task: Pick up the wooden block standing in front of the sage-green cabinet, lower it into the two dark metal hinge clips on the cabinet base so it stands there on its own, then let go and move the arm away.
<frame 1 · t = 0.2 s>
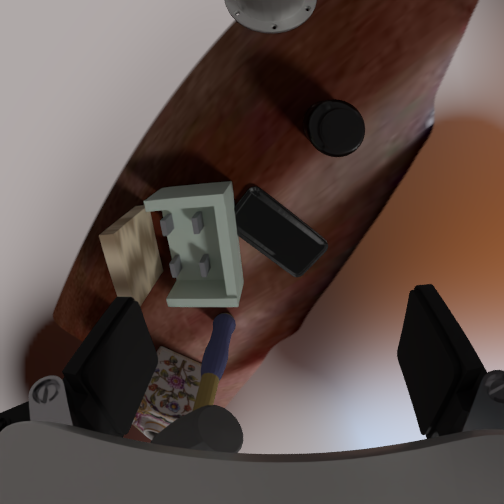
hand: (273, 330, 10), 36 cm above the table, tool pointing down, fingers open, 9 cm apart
wooden block: (149, 239, 51), on the table
decorative jar: (177, 369, 64), on the table
rubber mallet: (226, 317, 56), on the table
cabinet: (203, 236, 49), on the table
supplement bottle: (326, 124, 40), on the table
phone: (277, 231, 49), on the table
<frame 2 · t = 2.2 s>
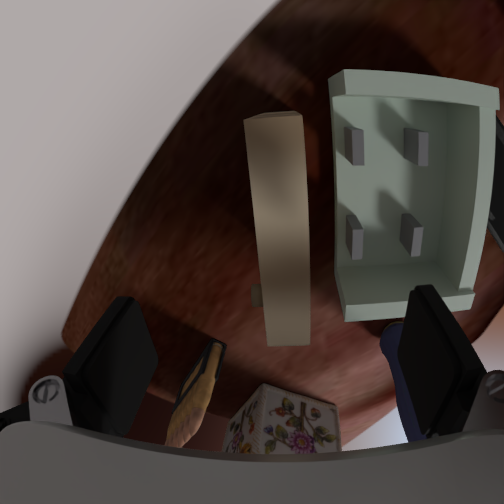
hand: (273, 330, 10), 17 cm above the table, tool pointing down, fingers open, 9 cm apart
wooden block: (285, 184, 25), on the table
decorative jar: (280, 413, 39), on the table
rubber mallet: (393, 328, 31), on the table
cabinet: (397, 181, 24), on the table
phone: (496, 183, 23), on the table
ammunition clip: (202, 365, 36), on the table
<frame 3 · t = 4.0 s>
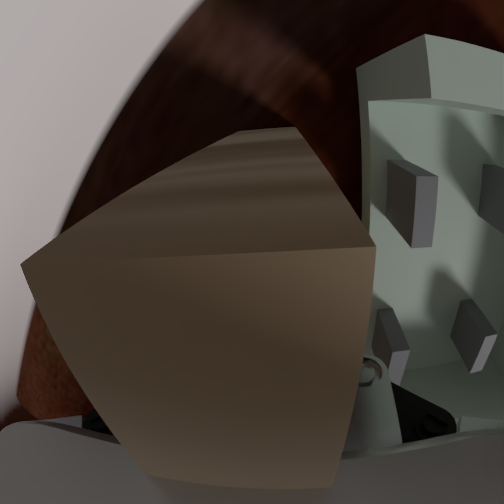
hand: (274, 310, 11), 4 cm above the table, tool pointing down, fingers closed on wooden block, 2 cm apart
wooden block: (277, 257, 15), on the table, touching gripper
cabinet: (457, 247, 14), on the table
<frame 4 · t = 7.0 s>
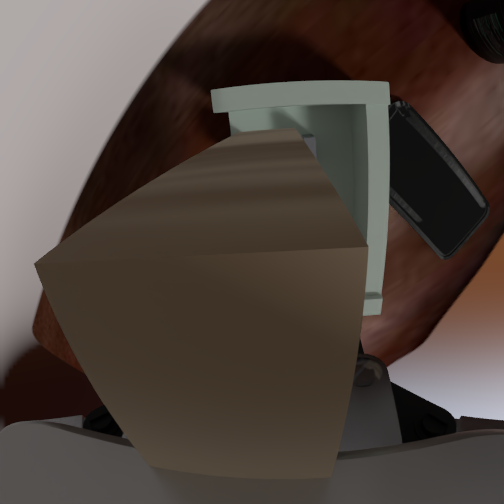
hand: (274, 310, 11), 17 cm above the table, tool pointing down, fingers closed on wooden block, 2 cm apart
wooden block: (277, 256, 15), point 13 cm above the table, touching gripper
cabinet: (304, 187, 26), on the table
supplement bottle: (484, 32, 17), on the table
phone: (424, 183, 25), on the table
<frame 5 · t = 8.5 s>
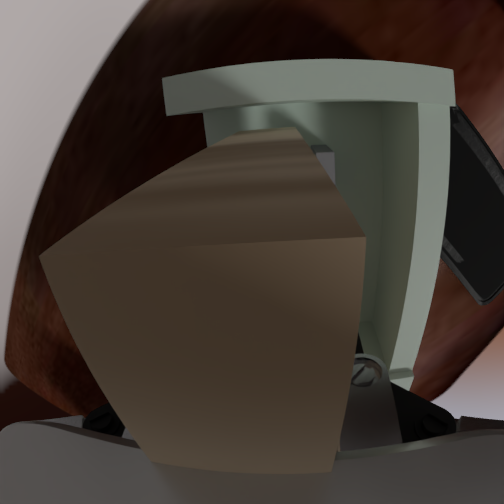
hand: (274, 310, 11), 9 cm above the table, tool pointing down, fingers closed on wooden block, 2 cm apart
wooden block: (277, 255, 15), point 5 cm above the table, touching gripper
cabinet: (312, 218, 19), on the table
phone: (467, 211, 18), on the table
when the fingers open (7 cm above the table, at t = 9.8 s): wooden block stays where it is, resting on cabinet.
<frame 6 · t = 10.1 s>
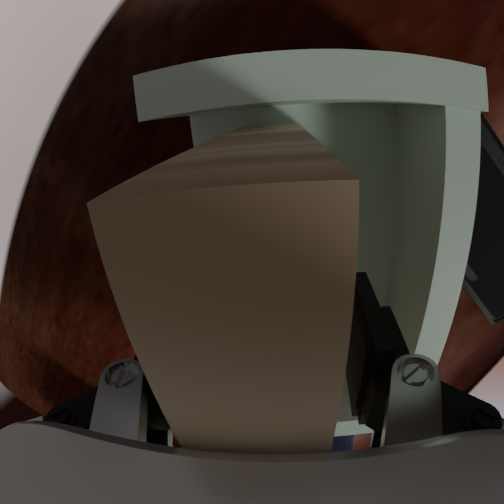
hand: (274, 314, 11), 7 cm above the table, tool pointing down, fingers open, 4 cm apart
wooden block: (279, 246, 16), point 1 cm above the table, touching cabinet
rubber mallet: (329, 410, 24), on the table
cabinet: (315, 235, 17), on the table
phone: (483, 225, 16), on the table
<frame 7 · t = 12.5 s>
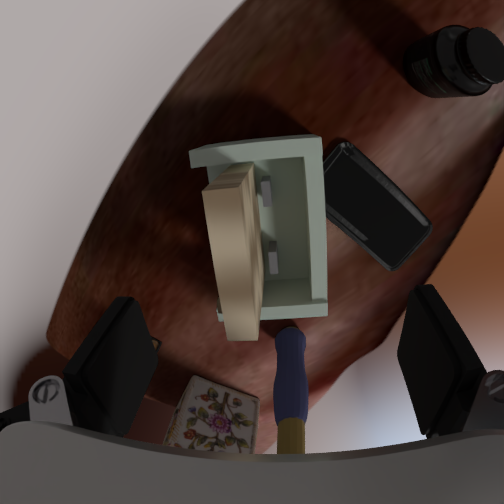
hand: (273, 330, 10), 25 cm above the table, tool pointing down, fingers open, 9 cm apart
wooden block: (248, 220, 33), point 1 cm above the table, touching cabinet
decorative jar: (215, 403, 48), on the table
rubber mallet: (290, 332, 40), on the table
cabinet: (267, 216, 34), on the table
supplement bottle: (427, 69, 26), on the table
phone: (369, 208, 33), on the table
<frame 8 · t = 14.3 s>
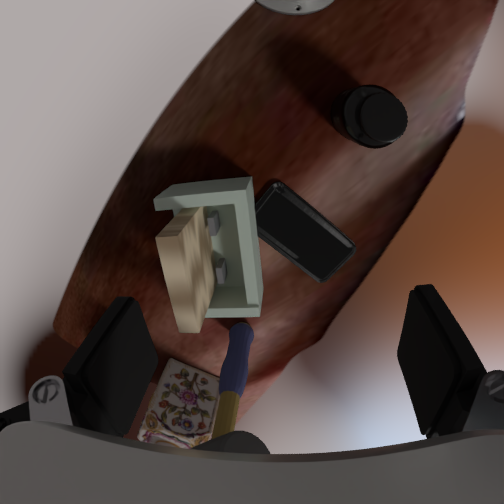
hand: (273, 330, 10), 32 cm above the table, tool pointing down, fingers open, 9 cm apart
wooden block: (203, 242, 43), point 1 cm above the table, touching cabinet
decorative jar: (188, 382, 59), on the table
rubber mallet: (242, 327, 51), on the table
cabinet: (219, 238, 45), on the table
supplement bottle: (355, 114, 36), on the table
phone: (301, 232, 44), on the table
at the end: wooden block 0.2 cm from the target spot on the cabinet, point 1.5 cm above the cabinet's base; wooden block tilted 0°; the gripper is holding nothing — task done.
